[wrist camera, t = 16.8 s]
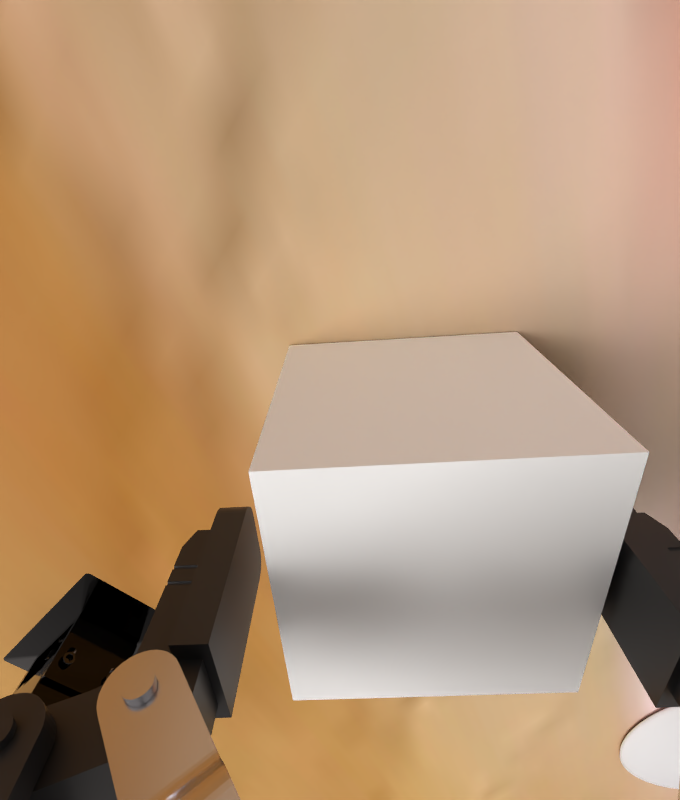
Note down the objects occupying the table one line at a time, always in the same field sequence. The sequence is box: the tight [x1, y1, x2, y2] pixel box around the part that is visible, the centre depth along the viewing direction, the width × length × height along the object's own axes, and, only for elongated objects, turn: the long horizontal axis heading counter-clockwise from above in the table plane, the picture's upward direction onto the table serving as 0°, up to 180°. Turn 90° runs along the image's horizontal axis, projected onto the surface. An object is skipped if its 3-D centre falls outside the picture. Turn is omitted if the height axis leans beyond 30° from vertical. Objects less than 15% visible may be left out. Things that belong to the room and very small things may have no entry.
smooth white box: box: [249, 332, 649, 700], centre depth 12 cm, size 7×7×7 cm
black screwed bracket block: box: [4, 574, 155, 706], centre depth 19 cm, size 12×7×5 cm, turn 136°
